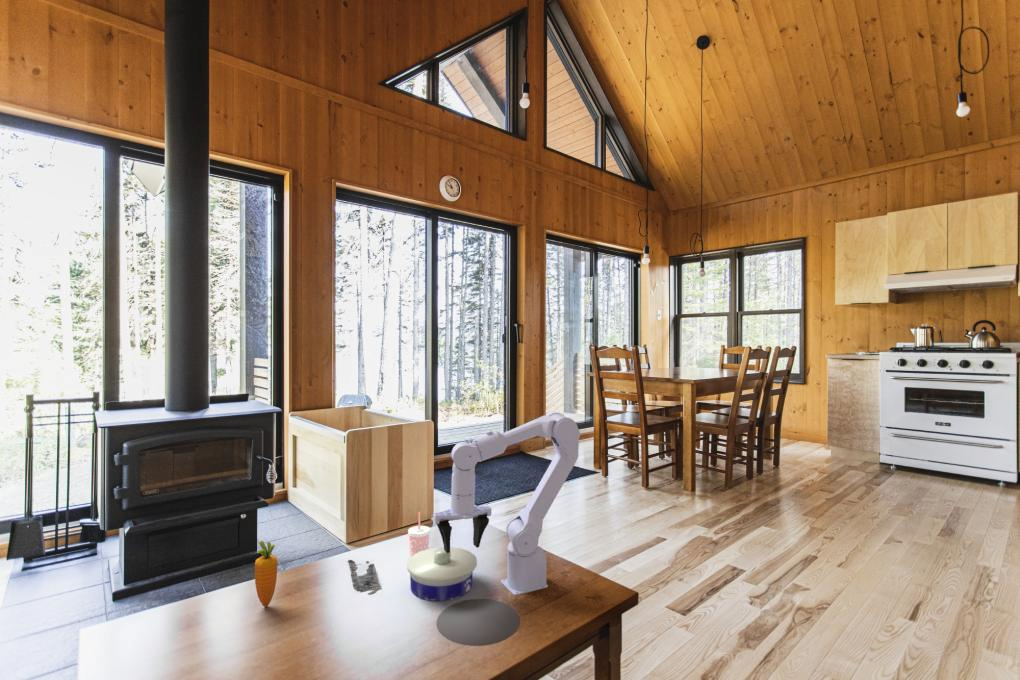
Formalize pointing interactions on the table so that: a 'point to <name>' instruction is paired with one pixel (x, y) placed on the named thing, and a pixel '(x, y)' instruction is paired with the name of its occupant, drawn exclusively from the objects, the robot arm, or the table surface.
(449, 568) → the lid
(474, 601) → the mat
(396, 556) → the table surface
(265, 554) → the carrot
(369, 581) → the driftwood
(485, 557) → the table surface
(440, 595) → the dog bowl
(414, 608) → the table surface
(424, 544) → the beverage cup
